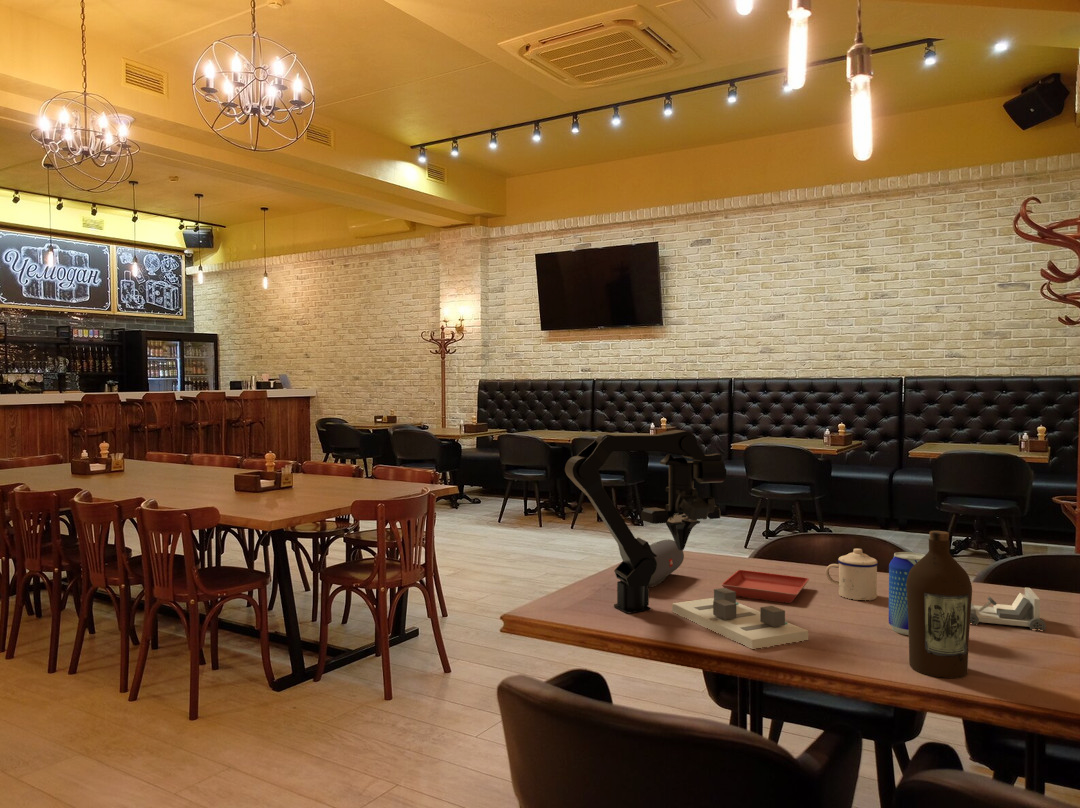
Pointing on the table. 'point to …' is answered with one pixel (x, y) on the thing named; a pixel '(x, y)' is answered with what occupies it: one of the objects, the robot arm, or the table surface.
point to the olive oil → (939, 612)
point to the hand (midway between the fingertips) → (681, 550)
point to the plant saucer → (765, 585)
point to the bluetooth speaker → (665, 560)
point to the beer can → (900, 589)
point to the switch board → (740, 624)
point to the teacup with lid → (856, 576)
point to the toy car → (1011, 612)
